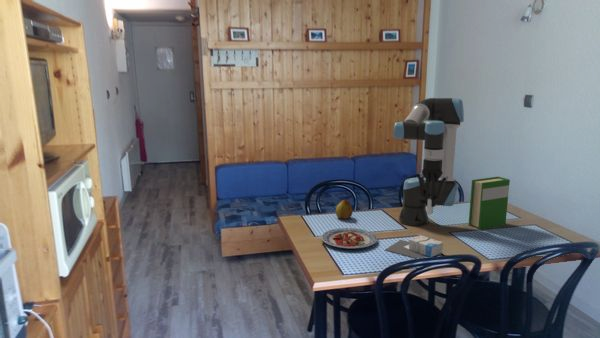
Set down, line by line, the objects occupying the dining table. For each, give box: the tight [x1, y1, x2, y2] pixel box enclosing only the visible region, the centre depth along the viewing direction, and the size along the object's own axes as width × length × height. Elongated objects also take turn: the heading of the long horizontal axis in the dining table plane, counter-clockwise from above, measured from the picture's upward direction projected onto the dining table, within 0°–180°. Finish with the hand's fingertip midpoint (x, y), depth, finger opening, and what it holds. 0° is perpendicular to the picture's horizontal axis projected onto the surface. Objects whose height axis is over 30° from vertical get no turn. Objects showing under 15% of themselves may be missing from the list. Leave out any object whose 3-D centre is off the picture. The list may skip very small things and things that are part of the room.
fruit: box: [335, 197, 353, 220], centre depth 237 cm, size 9×9×12 cm
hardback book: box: [468, 176, 510, 231], centre depth 223 cm, size 18×7×24 cm, turn 114°
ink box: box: [404, 234, 444, 258], centre depth 192 cm, size 8×5×15 cm
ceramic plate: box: [320, 227, 378, 249], centre depth 204 cm, size 26×26×3 cm
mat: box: [384, 239, 429, 260], centre depth 193 cm, size 19×15×1 cm
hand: (429, 213), depth 185 cm, fingers closed
